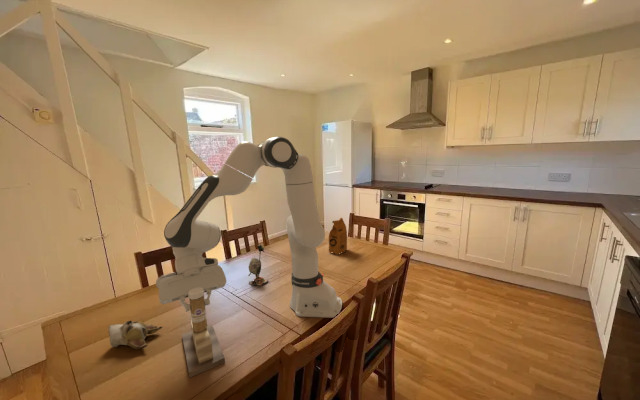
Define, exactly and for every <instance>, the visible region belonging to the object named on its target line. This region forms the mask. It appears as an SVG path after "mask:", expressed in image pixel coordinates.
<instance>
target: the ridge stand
mask: <svg viewBox="0 0 640 400" xmlns="http://www.w3.org/2000/svg"><path fill="white" fill-rule="evenodd" d="M189 321H190V327H191V328H190V329H191V330H190V331H187V332H184V333H182V334H181V336H182V344H183V349H184V354H185V361H186V364H187V365H186V366H187V370H188V371H187V372H188V377H189V378H192V377H194V376H196V375H199V374H202V373H204V372H205V371H207V370H210V369H212V368H215V367H217V366H219V365H221V364H224V363H225V362H226V357H225V355H224V352H223V350H222V347H221V345H220V341H219V339H218V336H217V334H216V331H215V329H214V326H213V323H210V324H207V327H206V329H204V330H203V331H200V332H195V331H193V325H192V318H189Z"/></svg>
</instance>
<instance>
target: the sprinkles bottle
mask: <svg viewBox="0 0 640 400" xmlns="http://www.w3.org/2000/svg"><path fill="white" fill-rule="evenodd" d="M187 298H188V299H189V304H190V307H191V310H190V317H191V318H192V325H193V331H195V332H200V331H203V330H204V329H206V327H207V325H208V321H207V311H206V306H205V302H204V299H205V293H204V289H203V288H201V287H197V288H193V289H191V290H190V291H189V292H188V297H187ZM191 318H190V319H191Z"/></svg>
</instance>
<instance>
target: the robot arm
mask: <svg viewBox="0 0 640 400" xmlns="http://www.w3.org/2000/svg"><path fill="white" fill-rule="evenodd" d="M228 155H229V156H228V157H227V158H226V159H225V162H224V164H222V165H223V166H221V168H220V169H219V170H218V171H217V172H216V173H214V174H213V175H209V176H208V177H205V179H204V180H203V181H202V182H201V183H200V184H199V185H198V186H197V188H196V189H195V191H194V192H193V193H192V194H191V196H190V197H189V198H188V200H187V201H186V202H185V204H184V205H183V206H182V208H181V209H179V211H178V212H177V213H176V214H175V215H174V216H173V217H172V218H171V219H170V220H169V221H168V222H167V223H166V224H165V228H164V231H163V237H164V239H165V241H166V242H167V244H168V245H169V246H170V247H171V249H172V254H173V256H174V257H175V259H174V260H175V261H174V267H175V271H174V272H170V273H167V274H162V275H160V276H159V277H158V278H156V281H155V286H156V288H157V289H158V298H159V299H158V300H159V303H160V304H161V305H166V304H170V303H173V302H177V301H179V303H180V305H182V306H183V307H184V310H185V312H189V311H190V312H191V307H190V303H187V302H186V299H188V298H189V297H188V292H189V291H190V290H191V289H193V288H197V287H201V288H203V289H204V294H205V295H206V296H207V297H206V298H204V302H205V307H206V306H209V305H211V301H210V300H211V299H210V297H211V295H212V291H214V290H218V289H221V288H224V287H225V286H226V285H227V277H226V273H225V272H224V269H223V267H222V266H221V265H219V262H218V261H219V260H218V258H217V257H203V254H204V253H206V252H209V251H211V250H212V249H214V248H216V247H217V246H218V245H219V243H220V241H221V237H222V235H221V229H220V227H219V226H218V225H217V224H215V223H212V222H208V221H203V220H198V218H199V216H200V215H201V213H202V212H203V211H204V210H205V209H206V207H207V205H208V204H209V203H210V202H211V201H212V200H215V199H216V198H219V197H223V196H237V195H241V194H243V193H244V192H246V190H247V189H248V188H249V187H250V185H251V183H252V181H253V179H254V177H255V175H256V173H257V172H258V170H259V169H260V168H261V167H262V166H265V167H270V168H277V169H278V168H280V169H281V170H282V172H283V174H284V182H285V191H286V198H287V199H286V200H287V201H286V202H287V205H288V207H289V212H290V215H288V217H287V218H286V221H285V227H286V231H287V238H288V243H289V249H290V253H291V270H292V271H291V287H292V289H291V290H292V291H291V297H290V301H289V307H290V308H291V310H292V311H294V312H295V313H294V314H295V315H296V316H297V317H303V318H305V317H307V318H331V319H332V318H335V317H337V316H338V315H339V313H340V312H341V310H342V307H343V301H342V298H341V297H339V296H338V295H337V290H335V289H336V288H334V287H332V286H331V285H330V283H329V284H328V283H327V282H326V281H325V280H324V276H325V275H324V272H323V273H320V271H319V254H318V252H317V249H316V248H317V247H319V246H321V245H322V244H323V243H324V241H325V238H326V231H325V229H324V226H323V225H322V222H321V217H320V214H319V210H318V207H317V204H316V197H315V196H316V195H315V187H314V185H315V184H314V177H313V176H314V175H313V169H312V166H311V162H310V160H309V158H308V157H307V156H306V155H304V154H301V153H298V151H297V149H295V147H294V145H293V144H292V142H291V141H290V140H289V139H288V138H286V137H284V136H274V137H270V138H268V139H266V140H264V141H262V142H260V143H259V144H255V143H252V142H251V141H241V142H239V143H238V144H237V145H236V146H235V147H234V148H233V150H232V151H231V153H230V154H228ZM337 314H338V315H337ZM336 315H337V316H336Z"/></svg>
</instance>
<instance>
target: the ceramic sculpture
mask: <svg viewBox="0 0 640 400" xmlns="http://www.w3.org/2000/svg"><path fill="white" fill-rule="evenodd" d="M162 328H163V326H156V325H153V324H146V323H145V322H143V321H133V320H128V321H126V322H124V323H123V324H122V323H121V324H120V323H118V324H117V323H116V324H111V325H108V327H107V329H108V336H109V342H110V346H111V347H113V348H117V347H119V346H120V345H123V346H129V347H130V348H132V349H134V350H139V349H143V348H146V347H148V346H149V345H148V344H147V342H146V340H145V339H146V338H147V336H148V335H153V334H155V333H156V332H158V331H159V330H161V329H162Z"/></svg>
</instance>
